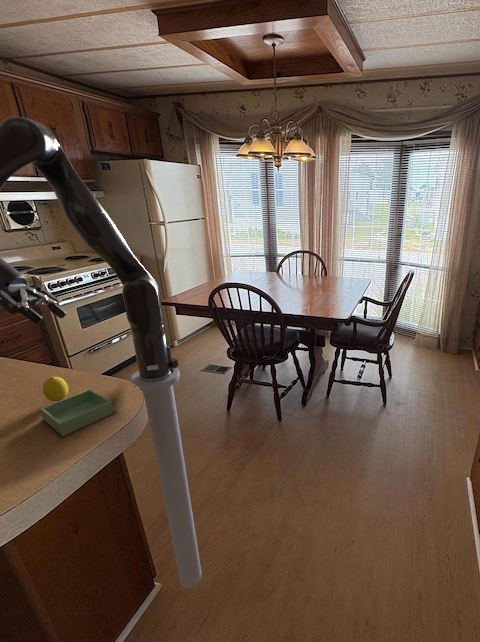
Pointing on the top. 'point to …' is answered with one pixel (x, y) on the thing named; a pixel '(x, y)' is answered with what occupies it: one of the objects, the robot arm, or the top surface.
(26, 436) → the top surface
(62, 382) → the lemon
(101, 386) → the top surface
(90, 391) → the bin
